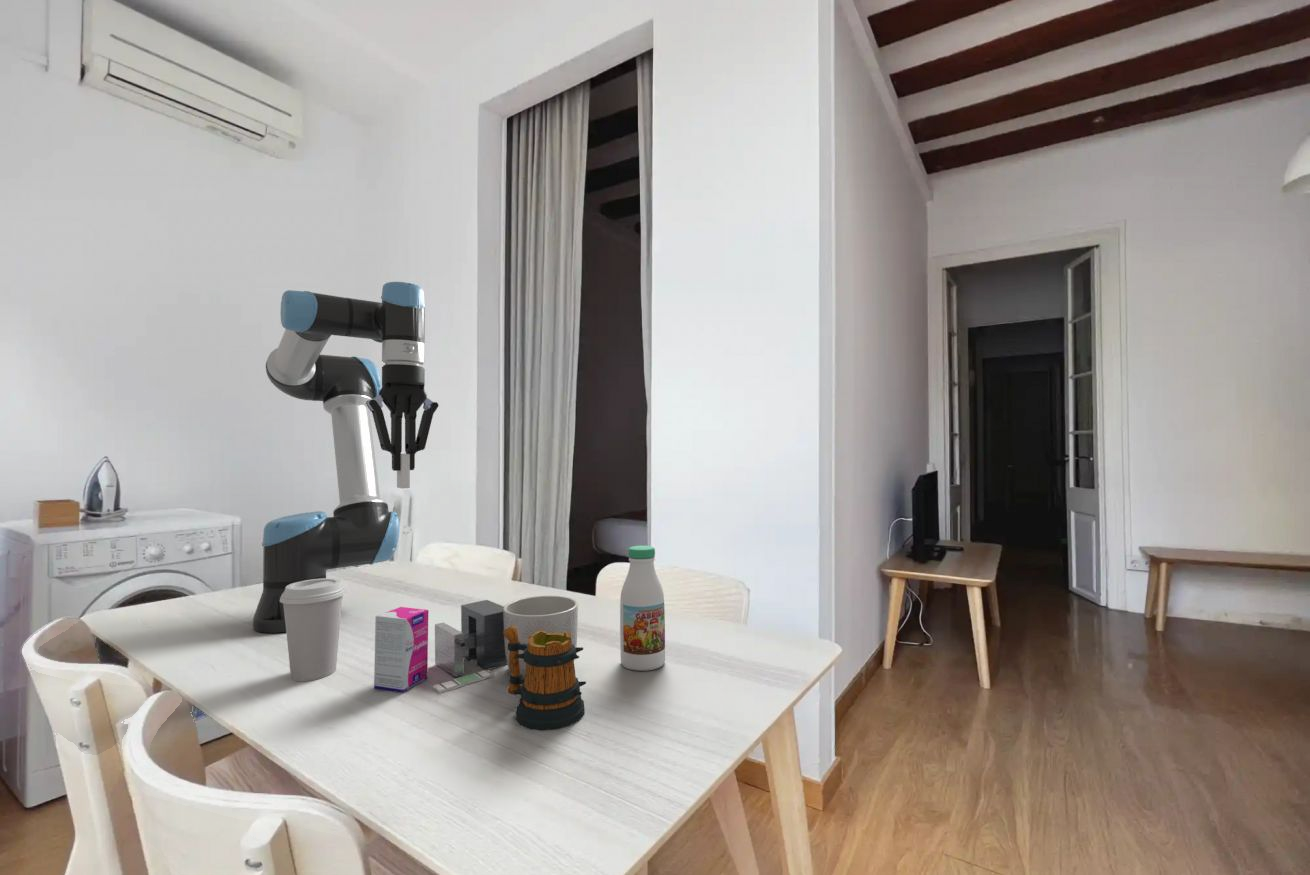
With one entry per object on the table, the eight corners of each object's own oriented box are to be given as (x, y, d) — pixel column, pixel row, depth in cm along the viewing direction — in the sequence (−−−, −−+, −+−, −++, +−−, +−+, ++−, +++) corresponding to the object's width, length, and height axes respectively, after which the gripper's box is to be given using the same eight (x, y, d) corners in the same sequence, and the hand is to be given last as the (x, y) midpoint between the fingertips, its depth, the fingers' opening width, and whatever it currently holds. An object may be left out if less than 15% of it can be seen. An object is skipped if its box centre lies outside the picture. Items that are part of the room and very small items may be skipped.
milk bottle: (611, 664, 97) (610, 547, 97) (642, 651, 103) (641, 541, 103) (643, 676, 92) (642, 553, 92) (674, 662, 98) (673, 546, 98)
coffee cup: (337, 658, 101) (336, 574, 102) (354, 672, 95) (353, 583, 95) (274, 673, 95) (273, 584, 95) (287, 690, 88) (287, 594, 88)
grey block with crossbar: (435, 663, 98) (434, 624, 98) (498, 645, 106) (498, 609, 106) (461, 681, 90) (461, 638, 90) (527, 660, 98) (527, 622, 98)
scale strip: (433, 688, 88) (433, 685, 88) (487, 672, 94) (487, 669, 94) (439, 693, 86) (439, 690, 86) (493, 676, 93) (493, 673, 93)
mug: (600, 704, 82) (599, 624, 82) (560, 738, 73) (559, 648, 73) (526, 689, 87) (526, 614, 88) (481, 719, 78) (480, 635, 78)
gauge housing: (461, 656, 101) (461, 605, 102) (487, 649, 105) (487, 599, 105) (484, 670, 95) (484, 615, 95) (511, 662, 98) (511, 609, 98)
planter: (535, 652, 103) (534, 592, 103) (592, 663, 98) (591, 599, 98) (487, 677, 92) (486, 610, 92) (549, 691, 87) (548, 620, 87)
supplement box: (404, 693, 86) (404, 618, 87) (372, 689, 88) (372, 616, 88) (429, 678, 92) (429, 608, 92) (399, 675, 94) (398, 605, 94)
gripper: (372, 360, 101) (372, 491, 101) (444, 366, 110) (444, 487, 110) (361, 363, 107) (360, 488, 107) (430, 369, 116) (430, 484, 116)
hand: (403, 487), depth 109 cm, fingers closed
